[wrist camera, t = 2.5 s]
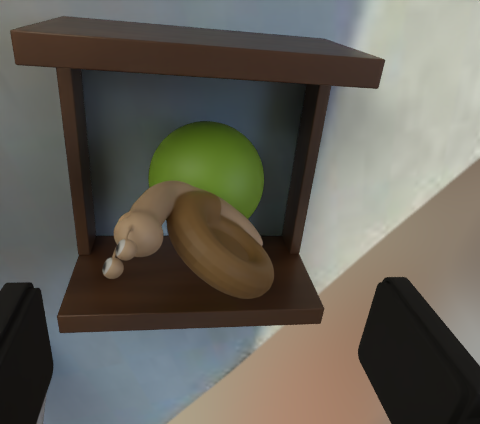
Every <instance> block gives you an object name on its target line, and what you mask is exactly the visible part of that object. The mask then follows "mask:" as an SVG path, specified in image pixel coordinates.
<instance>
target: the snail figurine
mask: <svg viewBox="0 0 480 424" xmlns="http://www.w3.org/2000/svg"><path fill="white" fill-rule="evenodd" d="M148 179H149V189H147V190H146V191H145V192H144V193H143V194H142V195H141V196H140V197H139V199H138V200H137V201H136V202H135V203H134V204H133V206H132V207H131V209H130V211H129V212H128V213H125V214H124V215H123V216H121V218H120V219H119V221H118V223H117V224H116V226H115V229H114V239H115V241H116V243H117V246H116V248H115V250H114V253H113V256H112V258H109V259H107V260H106V261H105V263H104V265H103V268H102V272H103V274H104V276H105V277H107V278H109V279H115V278H118V277H119V276H120V275H121V274H122V273H123V269H124V266H123V263H122V262H121V260H124V261H127V260H130V259H132V258H133V257H145V256H149V255H151V254H153V253H155V252H156V251H157V250H158V249H159V248H160V246H161V244H162V242H163V230H162V227H161V226H162V224H163V223H164V221H165V220H166V221H167V229H168V234H169V237H170V240H171V242H172V244H173V246H174V248H175V250H176V252H177V253H178V255H179V256H180V257H181V259H182V260H183V261H184V263H185V264H186V265H187V266H188V267H189V268H190V269H191V270H192V271H193V272H194V273H195V274H196V275H197V276H198V277H200V278H201V279H202V280H203V281H205V282H206V283H207V284H209V285H210V286H212V287H214V288H215V289H217V290H219V291H221V292H223V293H225V294H228V295H230V296H233V297H237V298H241V299H252V298H256V297H260V296H262V295H263V294H265V293H266V292H267V291H268V290H269V289H270V287H271V285H272V283H273V280H274V269H273V265H272V262H271V260H270V258H269V256H268V254H267V253H266V251H265V250H264V249H263V247H262V245H263V241H262V238H261V236H260V235H259V233H258V232H257V230H256V229H255V227H254V226H253V225H252V224H251V222H250V221H249V220H248V219H249V218H250V216H251V215H252V214H253V212H254V211H255V209H256V208H257V206H258V204H259V202H260V199H261V196H262V192H263V187H264V172H263V166H262V163H261V160H260V157H259V155H258V153H257V151H256V149H255V148H254V146H253V145H252V143H251V142H250V141H249V140H248V139H247V138H246V137H245V136H244V135H243V134H242V133H240V132H239V131H237V130H236V129H234V128H232V127H230V126H228V125H225V124H222V123H218V122H211V121H200V122H194V123H190V124H187V125H184V126H182V127H180V128H178V129H176V130H175V131H173V132H172V133H170V134H169V135H168V136H167V137H166V138H165V139H164V140H163V141H162V142H161V143H160V145H159V146H158V148H157V149H156V151H155V153H154V155H153V158H152V160H151V164H150V168H149V178H148ZM115 255H116V256H117V257H118V258H119V259H121V260H119V259H118V258H115Z"/></svg>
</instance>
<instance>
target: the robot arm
mask: <svg viewBox="0 0 480 424" xmlns="http://www.w3.org/2000/svg"><path fill="white" fill-rule="evenodd" d="M358 356H359V360H360V363H361V364H362V367H363V368H364V370H365V372H366V374H367V376H368V378H369V380H370V382H371V384H372V386H373V388H374V390H375V392H376V394H377V396H378V398H379V400H380V402H381V404H382V406H383V408H384V410H385V412H386V414H387V416H388V418H389V420H390V422H391V424H480V366H479V365H478V363H477V362H476V361H475V360H474V359H473V357H472V356H471V355H470V354H469V353H468V351H467V350H466V349H465V348H464V346H463V345H462V344H461V343H460V342H459V341H458V339H457V338H456V337H455V336H454V334H453V333H452V332H451V331H450V329H449V328H448V327H447V326H446V325H445V323H444V322H443V321H442V320H441V319H440V317H439V316H438V315H437V314H436V313H435V311H434V310H433V309H432V308H431V306H430V305H429V304H428V303H427V302H426V300H425V299H424V298H423V297H422V296H421V294H420V293H419V292H418V291H417V290H416V288H415V287H414V286H413V285H412V283H411V282H410V281H409V280H408V279H407V278H405V277H387V278H385V279H384V280H383V281H382V282H380V283H379V284H378V285H377V288H376V291H375V295H374V298H373V301H372V305H371V308H370V311H369V315H368V318H367V322H366V325H365V328H364V332H363V335H362V338H361V341H360V345H359V349H358ZM52 374H53V358H52V352H51V346H50V341H49V335H48V329H47V323H46V317H45V311H44V306H43V300H42V294H41V290H40V288H34V287H33V284H32V283H30V282H26V283H6V284H5V285H4V286H3V288H2V289H1V291H0V424H37V420H38V417H39V414H40V411H41V408H42V405H43V402H44V399H45V396H46V393H47V390H48V387H49V384H50V381H51V378H52Z"/></svg>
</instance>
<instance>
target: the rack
mask: <svg viewBox="0 0 480 424" xmlns="http://www.w3.org/2000/svg"><path fill="white" fill-rule="evenodd" d="M10 33H11V39H12V45H13V51H14V57H15V63H16V64H17V65H25V66H41V67H56V70H57V79H58V87H59V96H60V104H61V112H62V121H63V129H64V138H65V146H66V154H67V163H68V171H69V179H70V188H71V196H72V205H73V213H74V221H75V230H76V238H77V247H78V254H79V256H78V259H77V262H76V265H75V267H74V270H73V273H72V276H71V279H70V281H69V284H68V287H67V290H66V293H65V295H64V298H63V301H62V304H61V307H60V309H59V312H58V315H57V319H58V326H59V332H60V333H76V332H104V331H131V330H159V329H187V328H215V327H242V326H270V325H294V324H295V325H297V324H320V323H321V320H322V316H323V311H324V307H323V305H322V303H321V300H320V298H319V296H318V294H317V292H316V290H315V288H314V285H313V283H312V281H311V279H310V277H309V275H308V272H307V270H306V268H305V266H304V264H303V262H302V260H301V257H300V255H299V252H300V247H301V241H302V236H303V231H304V226H305V220H306V215H307V210H308V205H309V199H310V194H311V189H312V184H313V178H314V173H315V168H316V163H317V157H318V152H319V147H320V142H321V136H322V131H323V126H324V121H325V116H326V110H327V105H328V100H329V95H330V89H331V86H343V87H358V88H373V89H378V88H379V83H380V79H381V75H382V71H383V67H384V63H385V60H384V59H382V58H379V57H376V56H373V55H370V54H367V53H364V52H362V51H359V50H356V49H353V48H350V47H347V46H344V45H341V44H338V43H335V42H332V41H330V40H327V39H321V38H310V37H298V36H286V35H275V34H263V33H252V32H240V31H228V30H217V29H205V28H194V27H182V26H170V25H159V24H147V23H136V22H124V21H112V20H101V19H89V18H78V17H66V16H62V17H58V18H55V19H51V20H47V21H43V22H39V23H35V24H32V25H28V26H24V27H20V28H16V29H12V30H11V31H10ZM81 69H86V70H101V71H116V72H131V73H146V74H161V75H176V76H192V77H207V78H222V79H237V80H252V81H267V82H282V83H297V84H306V89H305V95H304V101H303V108H302V114H301V120H300V126H299V132H298V138H297V145H296V151H295V157H294V163H293V169H292V175H291V181H290V188H289V194H288V200H287V206H286V212H285V218H284V225H283V231H282V236H261V238H262V241H263V245H262V247H263V249H264V250H265V251H266V253H267V254H268V256H269V258H270V260H271V262H272V265H273V269H274V280H273V283H272V285H271V287H270V289H269V290H268V291H267V292H266V293H265V294H263V295H262V296H260V297H256V298H252V299H241V298H237V297H233V296H230V295H228V294H225V293H223V292H221V291H219V290H217V289H215V288H214V287H212V286H210V285H209V284H207V283H206V282H205V281H203V280H202V279H201V278H200V277H198V276H197V275H196V274H195V273H194V272H193V271H192V270H191V269H190V268H189V267H188V266H187V265H186V264H185V263H184V261H183V260H182V259H181V257H180V256H179V255H178V253H177V252H176V250H175V248H174V246H173V244H172V242H171V240H170V237H169V236H163V242H162V244H161V246H160V248H159V249H158V250H157V251H156V252H155V253H153V254H151V255H149V256H145V257H133V258H132V259H130V260H127V261H124V260H121V259H119V258H118V257H117V256H116V255H115V258H118V259H119V260H121V262H122V263H123V266H124V269H123V273H122V274H121V275H120V276H119V277H118V278H115V279H109V278H107V277H105V276H104V274H103V272H102V268H103V265H104V263H105V261H106V260H107V259H109V258H112V256H113V253H114V250H115V248H116V246H117V243H116V241H115V239H114V236H96V226H95V215H94V205H93V194H92V183H91V172H90V161H89V150H88V139H87V128H86V117H85V106H84V95H83V84H82V74H81Z"/></svg>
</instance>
